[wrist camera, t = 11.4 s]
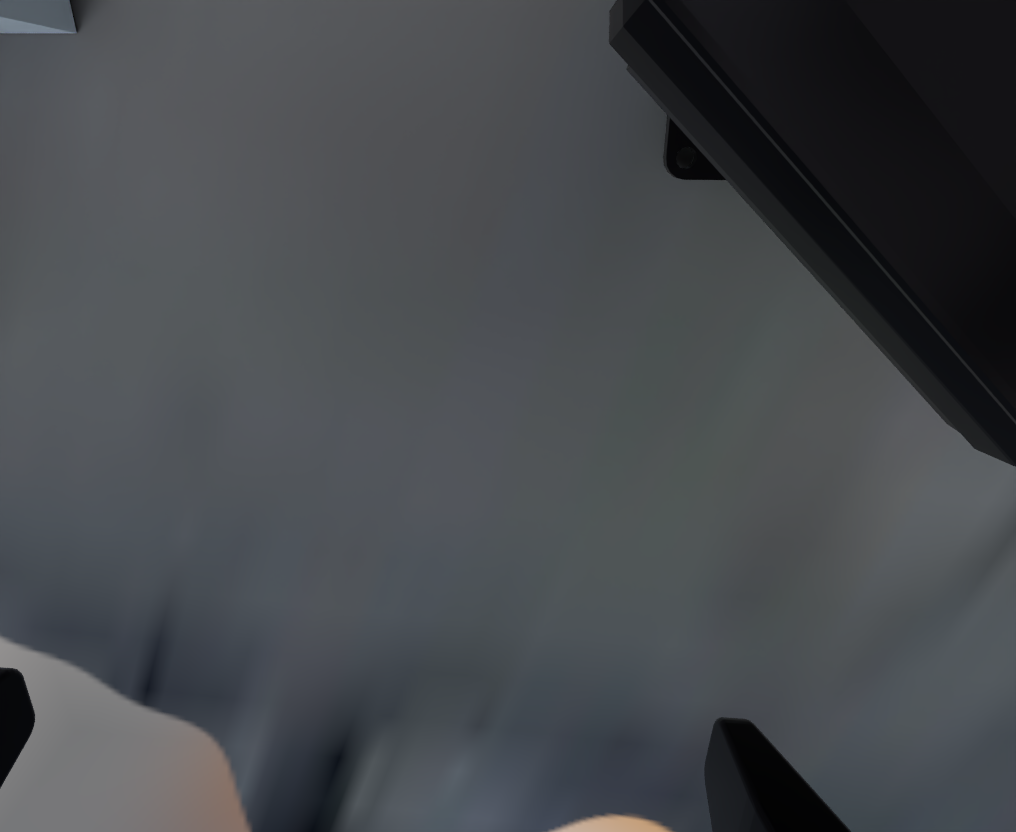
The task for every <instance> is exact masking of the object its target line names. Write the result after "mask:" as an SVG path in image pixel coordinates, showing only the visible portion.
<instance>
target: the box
mask: <svg viewBox="0 0 1016 832" xmlns="http://www.w3.org/2000/svg"><path fill="white" fill-rule="evenodd" d="M0 33H77V32H76V28H75V23H74V18H73V14H72V9H71V5H70V0H0Z"/></svg>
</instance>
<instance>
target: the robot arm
mask: <svg viewBox="0 0 1016 832" xmlns="http://www.w3.org/2000/svg"><path fill="white" fill-rule="evenodd" d="M609 44H610V45H611V46H612V47H613V48H614V49H615V51H616V52H617V53H618V54H619V55H620V56H621V57H622V58H623V59H624V60H625V62H626V63H627V64H628V67H627V69H626V70H627V71H628V72H629V73H630V74H631V75H632V76H633V77H634V78H635V79H636V81H637V82H638V83H639V84H640V85H641V86H642V87H643V88H644V89H645V91H646V92H647V93H648V94H649V95H650V96H651V97H652V98H653V99H654V100H655V102H656V103H657V104H658V105H659V106H660V107H661V108H662V109H663V110H664V112H665V113H666V114H667V124H666V134H665V145H664V156H663V159H664V166H665V168H666V170H667V172H668V173H669V174H671V175H672V176H673V177H676V178H680V179H684V180H727V181H728V182H729V183H730V184H731V186H732V187H733V188H734V189H735V190H736V191H737V192H738V193H739V194H740V196H741V197H742V198H743V199H744V200H745V201H746V202H747V203H748V204H749V206H750V207H751V208H752V209H753V210H754V211H755V212H756V213H757V214H758V215H759V217H760V218H761V219H762V220H763V221H764V222H765V223H766V224H767V225H768V227H769V228H770V229H771V230H772V231H773V232H774V233H775V234H776V235H777V236H778V238H779V239H780V240H781V241H782V242H783V243H784V244H785V245H786V246H787V248H788V249H789V250H790V251H791V252H792V253H793V254H794V255H795V256H796V257H797V259H798V260H799V261H800V262H801V263H802V264H803V265H804V266H805V267H806V269H807V270H808V271H809V272H810V273H811V274H812V275H813V276H814V277H815V278H816V280H817V281H818V282H819V283H820V284H821V285H822V286H823V287H824V288H825V290H826V291H827V292H828V293H829V294H830V295H831V296H832V297H833V298H834V299H835V301H836V302H837V303H838V304H839V305H840V306H841V307H842V308H843V309H844V311H845V312H846V313H847V314H848V315H849V316H850V317H851V318H852V319H853V320H854V322H855V323H856V324H857V325H858V326H859V327H860V328H861V329H862V330H863V332H864V333H865V334H866V335H867V336H868V337H869V338H870V339H871V340H872V341H873V343H874V344H875V345H876V346H877V347H878V348H879V349H880V350H881V351H882V353H883V354H884V355H885V356H886V357H887V358H888V359H889V360H890V361H891V362H892V364H893V365H894V366H895V367H896V368H897V369H898V370H899V371H900V372H901V374H902V375H903V376H904V377H905V378H906V379H907V380H908V381H909V382H910V383H911V385H912V386H913V387H914V388H915V389H916V390H917V391H918V392H919V393H920V395H921V396H922V397H923V398H924V399H925V400H926V401H927V402H928V403H929V404H930V406H931V407H932V408H933V409H934V410H935V411H936V412H937V413H938V414H939V416H940V417H941V418H942V419H943V420H944V421H945V422H946V423H947V424H948V425H950V426H951V427H952V428H954V429H955V430H957V431H958V432H960V433H961V434H962V435H963V436H964V438H965V439H966V440H967V441H968V442H969V443H970V444H971V445H972V446H973V448H974V449H976V450H979V451H981V452H983V453H986V454H988V455H990V456H992V457H995V458H997V459H999V460H1001V461H1004V462H1006V463H1008V464H1011V465H1013V466H1016V0H617V1H616V3H615V4H614V6H613V7H612V8H611V10H610V26H609ZM685 147H688V148H690V149H691V150H692V152H693V156H694V158H693V161H692V163H691V164H690V165H689V166H688V167H686V168H680V167H679V166H678V165H677V163H676V156H677V153H678V152H679V151H680V150H681V149H682V148H685ZM34 722H35V713H34V710H33V706H32V703H31V700H30V696H29V693H28V690H27V687H26V684H25V681H24V677H23V675H22V674H21V673H20V672H19V671H18V670H17V669H13V668H0V788H1V786H2V784H3V783H4V781H5V779H6V777H7V776H8V774H9V772H10V770H11V769H12V767H13V765H14V763H15V762H16V760H17V758H18V756H19V755H20V753H21V751H22V749H23V748H24V746H25V744H26V742H27V741H28V739H29V737H30V735H31V732H32V730H33V727H34ZM705 785H706V792H707V799H708V805H709V812H710V818H711V825H712V832H851V831H850V830H849V829H848V828H847V826H846V825H845V824H844V823H843V822H842V821H841V820H840V819H839V818H838V816H837V815H836V814H835V813H834V812H833V811H832V810H831V809H830V808H829V806H828V805H827V804H826V803H825V802H824V801H823V800H822V799H821V798H820V797H819V795H818V794H817V793H816V792H815V791H814V790H813V789H812V788H811V787H810V785H809V784H808V783H807V782H806V781H805V780H804V779H803V778H802V777H801V776H800V774H799V773H798V772H797V771H796V770H795V769H794V768H793V767H792V766H791V764H790V763H789V762H788V761H787V760H786V759H785V758H784V757H783V756H782V754H781V753H780V752H779V751H778V750H777V749H776V748H775V747H774V746H773V745H772V743H771V742H770V741H769V740H768V739H767V738H766V737H765V736H764V735H763V733H762V732H761V731H760V730H759V729H758V728H757V727H756V726H755V725H754V724H753V723H752V722H751V721H749V720H747V719H738V718H724V717H721V718H718V719H717V720H716V721H715V723H714V726H713V730H712V734H711V738H710V743H709V747H708V752H707V756H706V761H705Z"/></svg>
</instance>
